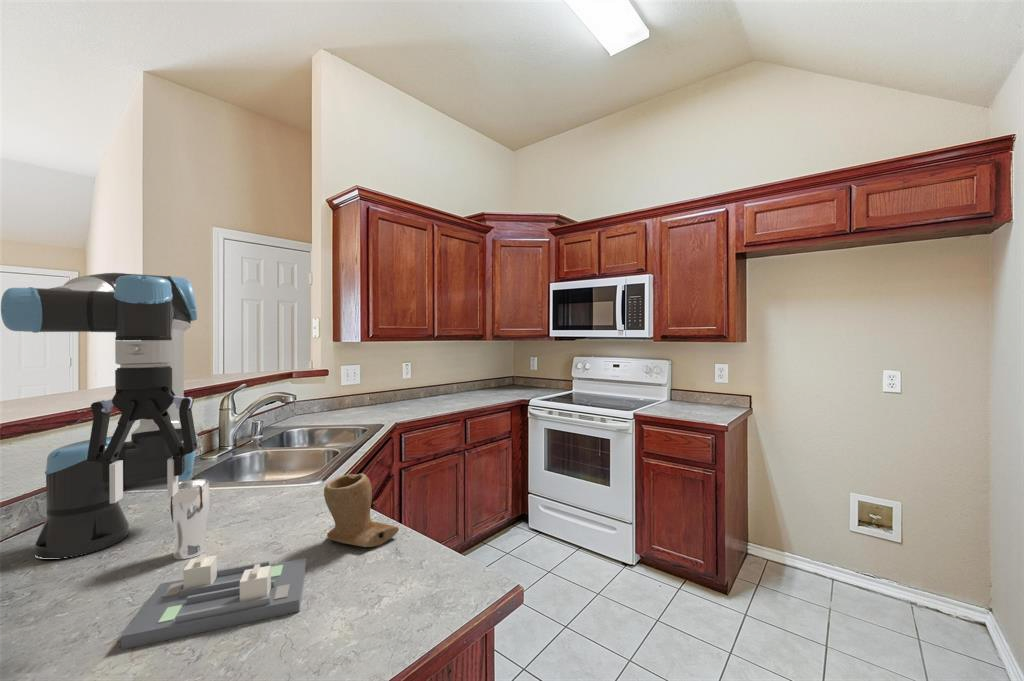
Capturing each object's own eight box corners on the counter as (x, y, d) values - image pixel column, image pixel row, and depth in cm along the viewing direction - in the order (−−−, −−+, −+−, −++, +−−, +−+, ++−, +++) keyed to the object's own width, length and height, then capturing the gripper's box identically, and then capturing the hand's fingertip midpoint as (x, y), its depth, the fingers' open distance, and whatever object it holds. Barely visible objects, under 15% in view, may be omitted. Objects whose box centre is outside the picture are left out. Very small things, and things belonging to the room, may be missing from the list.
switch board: (121, 649, 64) (120, 629, 64) (160, 594, 78) (160, 577, 78) (299, 611, 73) (299, 593, 73) (306, 567, 87) (306, 553, 87)
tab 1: (183, 593, 75) (183, 565, 75) (191, 581, 78) (190, 554, 78) (210, 588, 76) (210, 561, 76) (216, 576, 80) (216, 550, 80)
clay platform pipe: (312, 545, 96) (312, 479, 96) (353, 524, 107) (353, 465, 107) (362, 560, 90) (361, 489, 90) (400, 537, 100) (400, 473, 100)
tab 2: (239, 606, 71) (239, 577, 71) (244, 592, 74) (244, 565, 74) (267, 600, 72) (267, 572, 72) (271, 587, 76) (270, 561, 76)
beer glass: (217, 547, 95) (217, 480, 95) (185, 563, 89) (184, 491, 89) (196, 543, 98) (195, 477, 98) (162, 557, 91) (162, 487, 91)
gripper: (54, 368, 67) (55, 514, 67) (207, 365, 74) (207, 496, 74) (81, 365, 74) (82, 498, 74) (218, 363, 81) (219, 483, 81)
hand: (145, 497), depth 74 cm, fingers open, 7 cm apart
